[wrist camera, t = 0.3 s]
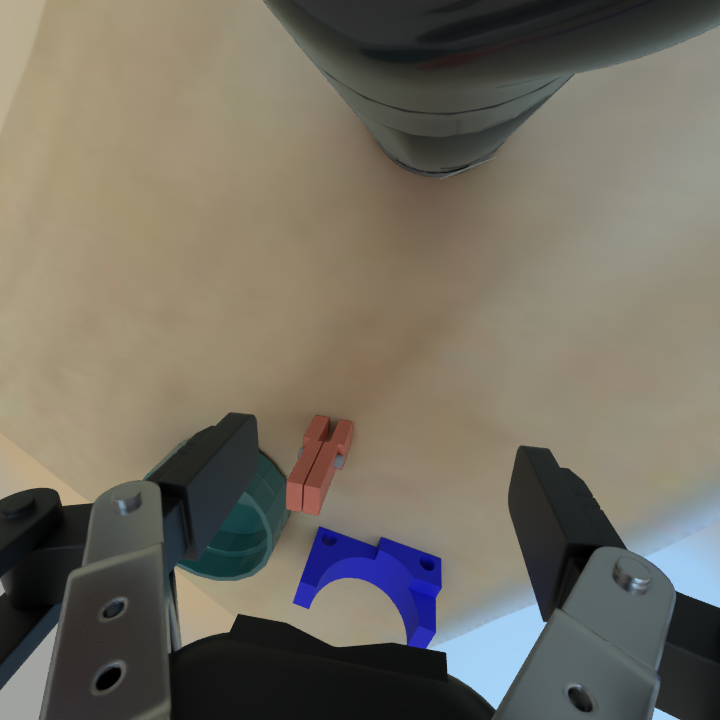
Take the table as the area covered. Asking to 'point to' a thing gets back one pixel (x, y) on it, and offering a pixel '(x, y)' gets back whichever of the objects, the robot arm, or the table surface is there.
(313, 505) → the clothespin
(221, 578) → the bowl
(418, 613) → the cable clip
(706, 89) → the table surface
